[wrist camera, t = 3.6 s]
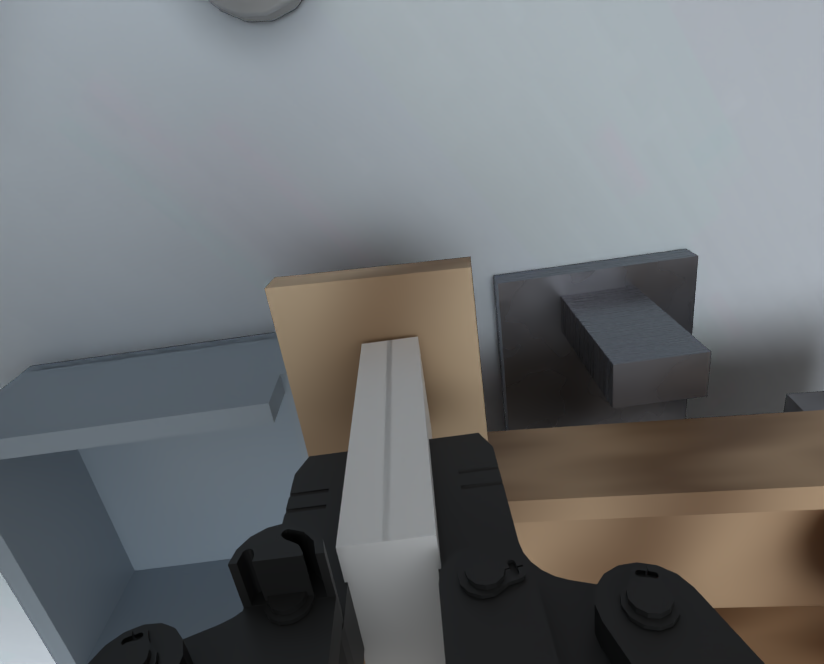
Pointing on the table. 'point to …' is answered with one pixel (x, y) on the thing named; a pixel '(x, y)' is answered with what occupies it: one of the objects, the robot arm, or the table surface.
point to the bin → (141, 486)
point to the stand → (600, 342)
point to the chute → (588, 457)
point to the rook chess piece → (256, 8)
